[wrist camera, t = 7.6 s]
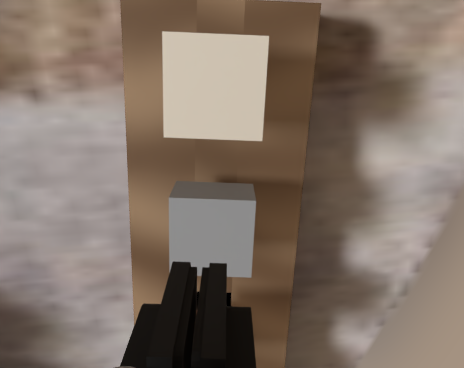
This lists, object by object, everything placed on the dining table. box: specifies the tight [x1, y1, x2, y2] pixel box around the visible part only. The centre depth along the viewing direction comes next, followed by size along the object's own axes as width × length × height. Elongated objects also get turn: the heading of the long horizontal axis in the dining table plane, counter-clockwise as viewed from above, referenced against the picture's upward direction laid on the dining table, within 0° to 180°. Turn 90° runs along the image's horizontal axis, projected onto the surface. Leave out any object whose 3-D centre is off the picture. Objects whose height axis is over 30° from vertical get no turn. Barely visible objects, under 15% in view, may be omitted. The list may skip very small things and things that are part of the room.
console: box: [120, 0, 321, 368], centre depth 25 cm, size 29×10×4 cm, turn 178°
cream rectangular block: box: [162, 31, 269, 141], centre depth 18 cm, size 4×4×7 cm
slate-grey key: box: [169, 181, 256, 278], centre depth 21 cm, size 4×4×7 cm
